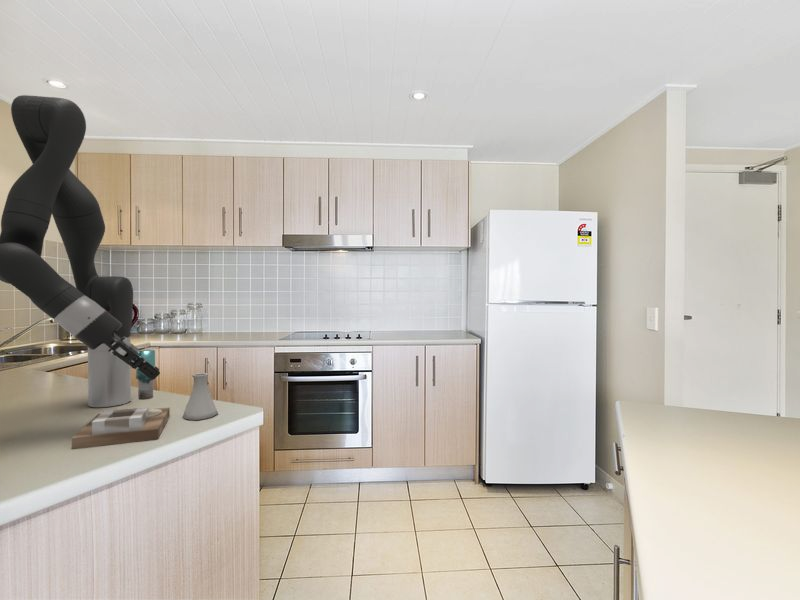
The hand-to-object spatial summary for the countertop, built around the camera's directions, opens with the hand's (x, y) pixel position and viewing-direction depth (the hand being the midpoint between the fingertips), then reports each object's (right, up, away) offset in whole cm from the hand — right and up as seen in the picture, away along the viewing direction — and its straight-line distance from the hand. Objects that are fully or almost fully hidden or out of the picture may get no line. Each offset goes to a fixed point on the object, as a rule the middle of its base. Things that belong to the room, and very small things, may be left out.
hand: (156, 374), depth 94 cm
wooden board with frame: (-3, -11, -6) cm, 12 cm away
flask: (+8, -11, +5) cm, 14 cm away
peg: (-2, -5, -1) cm, 5 cm away
